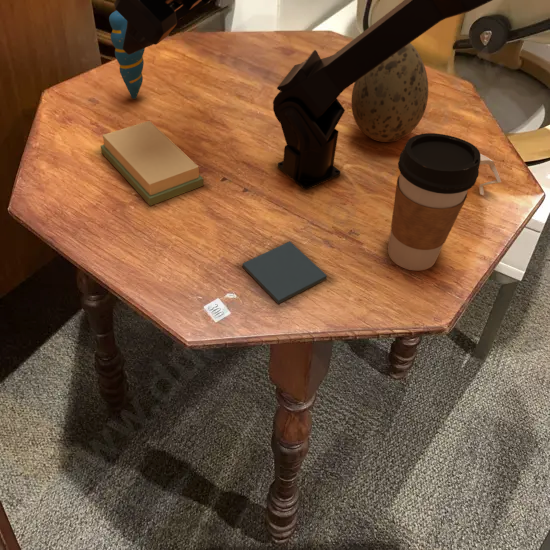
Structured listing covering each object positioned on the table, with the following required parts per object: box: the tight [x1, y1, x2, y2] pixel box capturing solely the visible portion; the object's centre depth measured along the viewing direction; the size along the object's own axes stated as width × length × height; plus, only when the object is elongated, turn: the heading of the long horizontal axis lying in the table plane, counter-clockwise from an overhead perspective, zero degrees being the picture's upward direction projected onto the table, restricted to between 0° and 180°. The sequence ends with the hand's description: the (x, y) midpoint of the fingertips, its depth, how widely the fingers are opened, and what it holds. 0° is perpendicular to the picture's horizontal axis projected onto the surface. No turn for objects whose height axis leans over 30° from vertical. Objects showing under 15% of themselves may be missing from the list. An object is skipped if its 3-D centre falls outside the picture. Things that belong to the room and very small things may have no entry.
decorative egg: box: [350, 42, 429, 143], centre depth 86 cm, size 11×11×15 cm
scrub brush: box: [100, 120, 205, 207], centre depth 82 cm, size 8×14×3 cm, turn 37°
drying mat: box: [241, 241, 328, 304], centre depth 70 cm, size 7×7×1 cm
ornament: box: [108, 9, 146, 100], centre depth 90 cm, size 5×5×15 cm
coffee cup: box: [387, 132, 481, 272], centre depth 68 cm, size 8×8×15 cm
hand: (144, 37), depth 80 cm, fingers open, 9 cm apart
